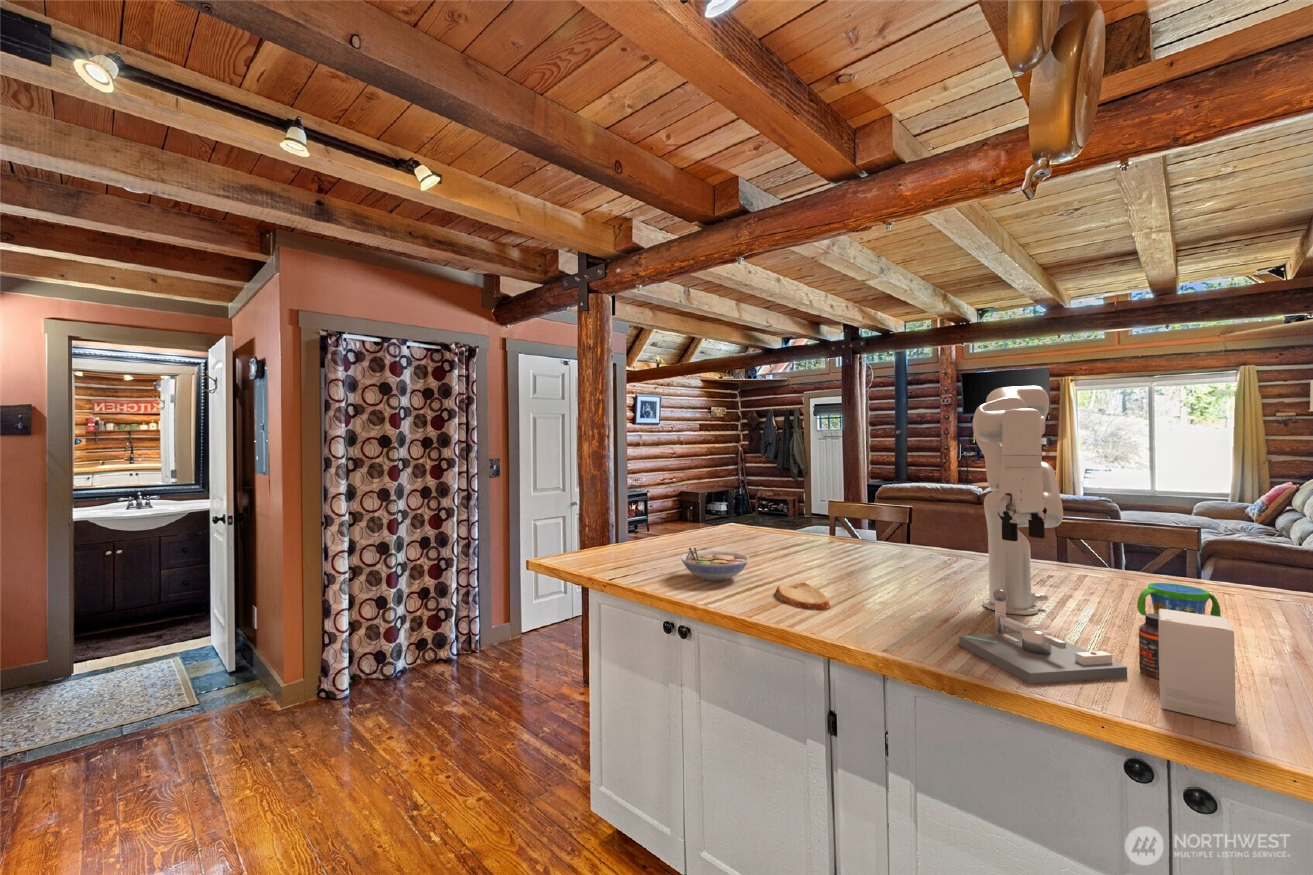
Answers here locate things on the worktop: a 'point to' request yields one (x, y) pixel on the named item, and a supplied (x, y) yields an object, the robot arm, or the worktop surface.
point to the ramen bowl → (714, 564)
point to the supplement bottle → (1149, 646)
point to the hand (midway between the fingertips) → (1023, 538)
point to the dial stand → (1043, 660)
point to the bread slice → (803, 596)
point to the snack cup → (1177, 599)
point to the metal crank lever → (1023, 628)
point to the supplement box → (1197, 665)
